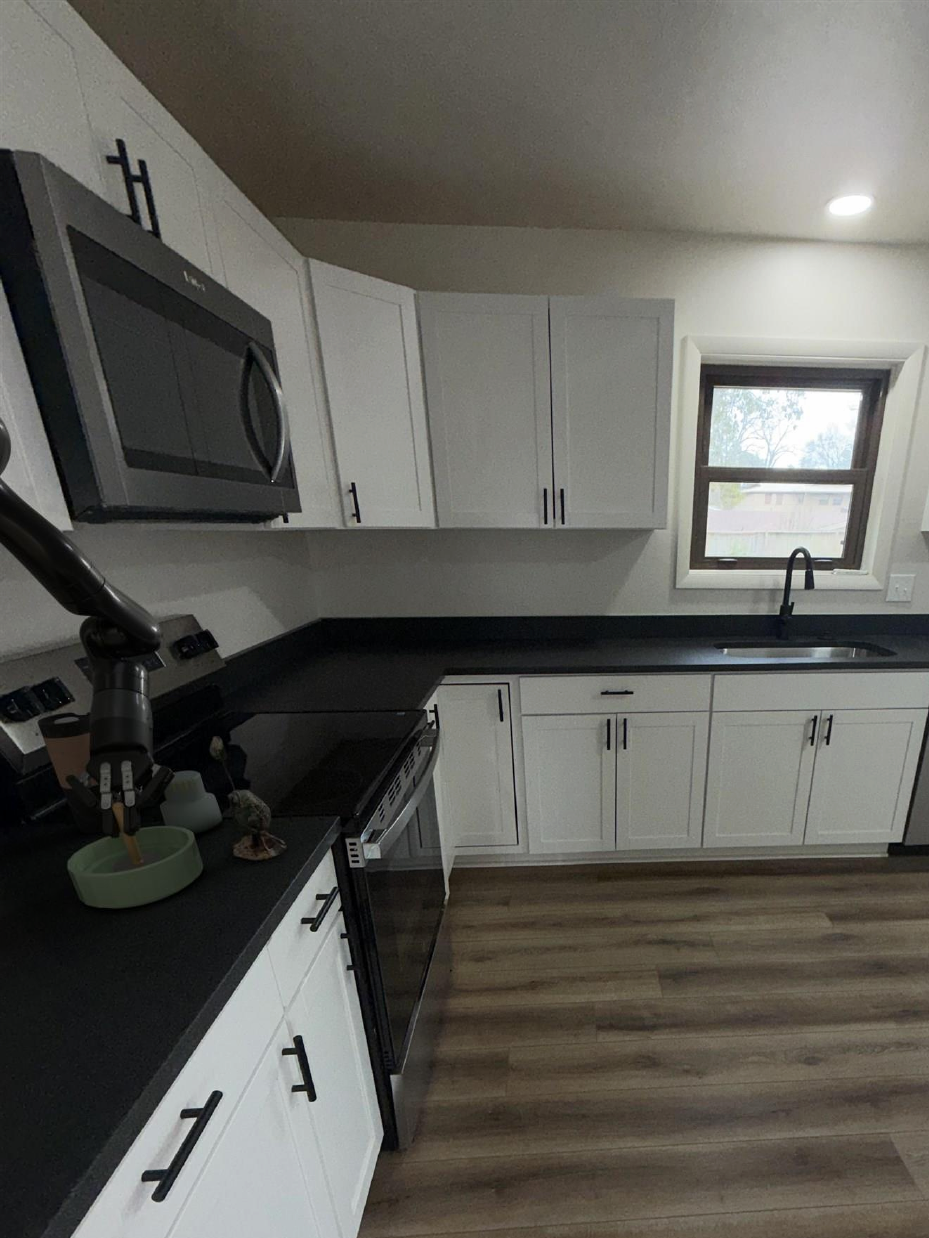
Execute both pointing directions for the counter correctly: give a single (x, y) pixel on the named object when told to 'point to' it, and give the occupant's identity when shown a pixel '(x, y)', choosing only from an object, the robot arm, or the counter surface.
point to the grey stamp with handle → (131, 847)
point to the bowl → (140, 884)
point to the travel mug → (72, 762)
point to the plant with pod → (249, 818)
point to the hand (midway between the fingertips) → (121, 835)
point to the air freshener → (190, 804)
